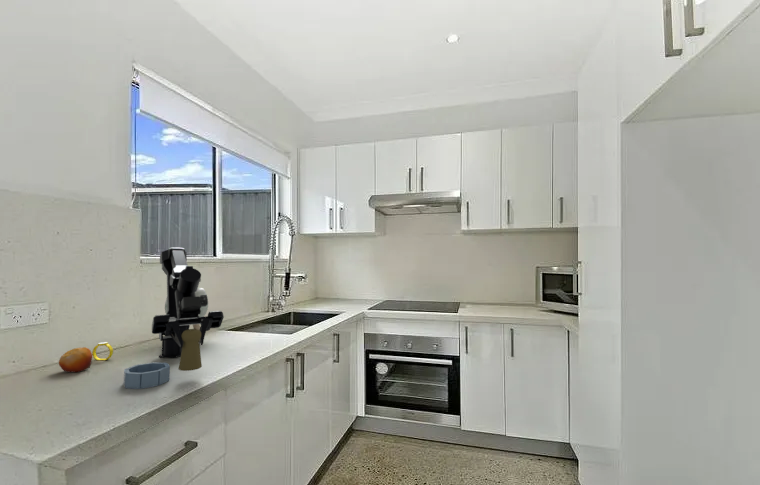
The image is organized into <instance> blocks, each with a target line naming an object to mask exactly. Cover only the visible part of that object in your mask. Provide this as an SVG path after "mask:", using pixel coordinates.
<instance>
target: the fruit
mask: <svg viewBox="0 0 760 485" xmlns="http://www.w3.org/2000/svg"><path fill="white" fill-rule="evenodd" d="M92 360H93V355H92V351H91V350H90V348H87V347H86V346H85V347H84V346H83V347H76V348H72V349H70V350H67V351H66V352H65V353H63V354H62V355H61V356H60V358H59V360H58V365H59V367H60V368H61V369H62V370H63V371H64V372H66V373H81V372H84V371H86V370H88V369H91V364H92Z"/></svg>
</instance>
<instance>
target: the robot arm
mask: <svg viewBox="0 0 760 485" xmlns="http://www.w3.org/2000/svg"><path fill="white" fill-rule="evenodd" d="M187 254H188V253H187V251H186V249H185V248H184V247H169V248H168V249H166V250H163V251H161V253H160V256H159V264H161V270H162V271H163V273H164V274H165V275H166V298H167V314H166V313H165V314H158V315H157V314H156V315H154V316H153V318H152V323H151V333H152V334H153V335H156V334H158V338H159V341H160V342H161V354H160V355H158V358H170V359H172V358H173V359H175V358H178V357H179V358H180V357H181V352H182V347H183V340H182V337H181V335H182V333H183V331H185V330H189V329H190V326H191V325H192V326H193V324H199V325H200V331H201V338H200V342H199V345H201V346H203V344H204V340H205V336H206V332H208V331H210V330H211V329H218V328H220V327H221V326H222V323H223V321H224V317H225V316H224V312H223V310H213V311H208V313H207V316H206V315H205V316H204V317H200V316H199V314H200V313H201V310H200V308H201V307H204V306H207V304H208V305H209V298H207V297H208V294H207V295H200V297H199V296H198V297H196V294H195V292H196V291H197V289H198V288H199V284H200V283H201V282H202V279H201V278H202V273H201V272H200V271H199V270H198V269H197V268H194V267H193V265H188V262H187V260H188V259H187Z"/></svg>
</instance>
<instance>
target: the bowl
mask: <svg viewBox="0 0 760 485" xmlns="http://www.w3.org/2000/svg"><path fill="white" fill-rule="evenodd" d="M170 370H171V366H170V365H169V363H167V362H147V363H146V362H145V363H140V364H134V365H132V366H129V367H126V368H124V370H123V381H122V382H123V387H124V388H125V389H130V390H131V389H133V390H141V389H149V388H152V387H153V388H154V387H157V386H161V385H163V384H164V383H166V382H167V383H168V382H169V381H170V373H171V372H170Z"/></svg>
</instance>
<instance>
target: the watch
mask: <svg viewBox="0 0 760 485" xmlns="http://www.w3.org/2000/svg"><path fill="white" fill-rule="evenodd" d="M101 346H102V347H104V346H105V347H107V348H108V350H109V354H108V356H107V357H106V358H99V357H98V356H97V349H98V348H99V347H101ZM91 353H92V359H94V360H96V361H107V360H109V359H111V358H112V356H113V354H114V348H113V347H112V345H111V344H109V342H108V341H104V342H103V341H101V342H98V343H97V344H96V345H95V346H94V347H93V349H92V351H91Z"/></svg>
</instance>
